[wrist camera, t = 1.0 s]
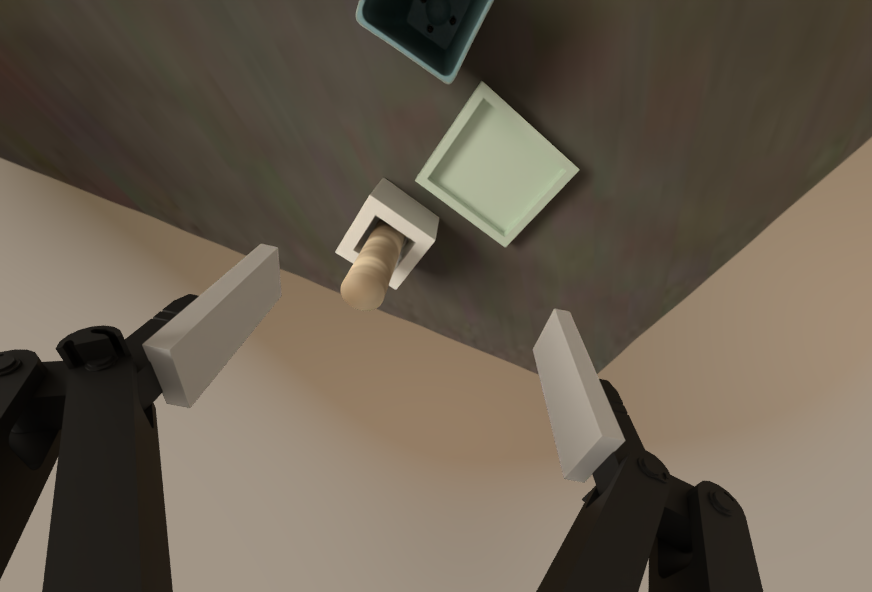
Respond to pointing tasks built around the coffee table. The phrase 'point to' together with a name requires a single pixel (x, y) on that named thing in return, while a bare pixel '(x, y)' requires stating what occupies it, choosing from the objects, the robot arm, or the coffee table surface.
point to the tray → (495, 167)
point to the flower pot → (426, 30)
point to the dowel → (373, 268)
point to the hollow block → (398, 214)
